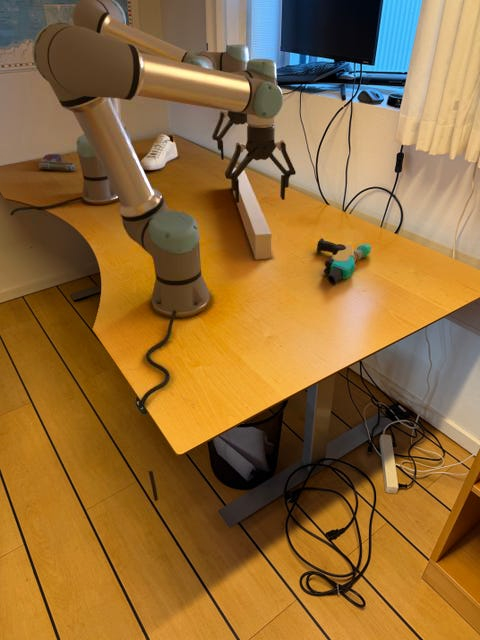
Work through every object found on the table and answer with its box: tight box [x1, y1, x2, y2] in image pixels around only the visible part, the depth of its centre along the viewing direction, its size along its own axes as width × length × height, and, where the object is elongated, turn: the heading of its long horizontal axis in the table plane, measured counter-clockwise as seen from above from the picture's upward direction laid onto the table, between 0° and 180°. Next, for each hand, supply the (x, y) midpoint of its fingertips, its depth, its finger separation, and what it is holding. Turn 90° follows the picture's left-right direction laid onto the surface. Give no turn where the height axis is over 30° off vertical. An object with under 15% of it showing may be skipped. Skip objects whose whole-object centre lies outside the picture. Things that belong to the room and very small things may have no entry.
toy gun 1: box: [37, 153, 77, 172], centre depth 215 cm, size 4×19×15 cm
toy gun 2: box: [316, 237, 372, 286], centre depth 138 cm, size 4×26×15 cm
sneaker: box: [140, 133, 179, 171], centre depth 214 cm, size 10×29×12 cm, turn 163°
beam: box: [231, 167, 272, 260], centre depth 166 cm, size 60×5×8 cm, turn 8°
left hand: (240, 157), depth 178 cm, fingers open, 13 cm apart
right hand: (259, 199), depth 141 cm, fingers open, 13 cm apart
